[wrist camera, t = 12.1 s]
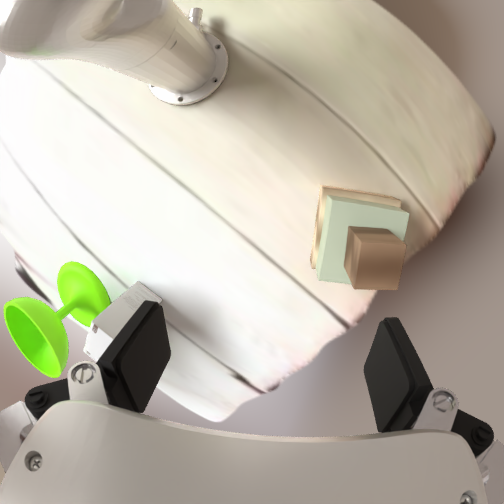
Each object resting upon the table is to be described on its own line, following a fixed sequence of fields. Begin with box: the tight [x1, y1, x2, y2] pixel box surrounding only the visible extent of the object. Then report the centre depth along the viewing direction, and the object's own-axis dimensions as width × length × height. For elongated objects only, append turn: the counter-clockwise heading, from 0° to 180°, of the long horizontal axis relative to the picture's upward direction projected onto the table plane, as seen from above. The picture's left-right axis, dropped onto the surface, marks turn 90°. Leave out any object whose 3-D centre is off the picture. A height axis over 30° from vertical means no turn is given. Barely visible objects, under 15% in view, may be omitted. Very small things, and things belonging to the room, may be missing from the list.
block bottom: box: [310, 185, 401, 269], centre depth 36 cm, size 11×11×4 cm
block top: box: [316, 195, 410, 284], centre depth 32 cm, size 10×10×4 cm
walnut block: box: [344, 226, 407, 290], centre depth 28 cm, size 5×5×6 cm
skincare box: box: [83, 281, 162, 362], centre depth 40 cm, size 8×6×15 cm
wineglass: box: [4, 262, 110, 378], centre depth 41 cm, size 16×16×18 cm
